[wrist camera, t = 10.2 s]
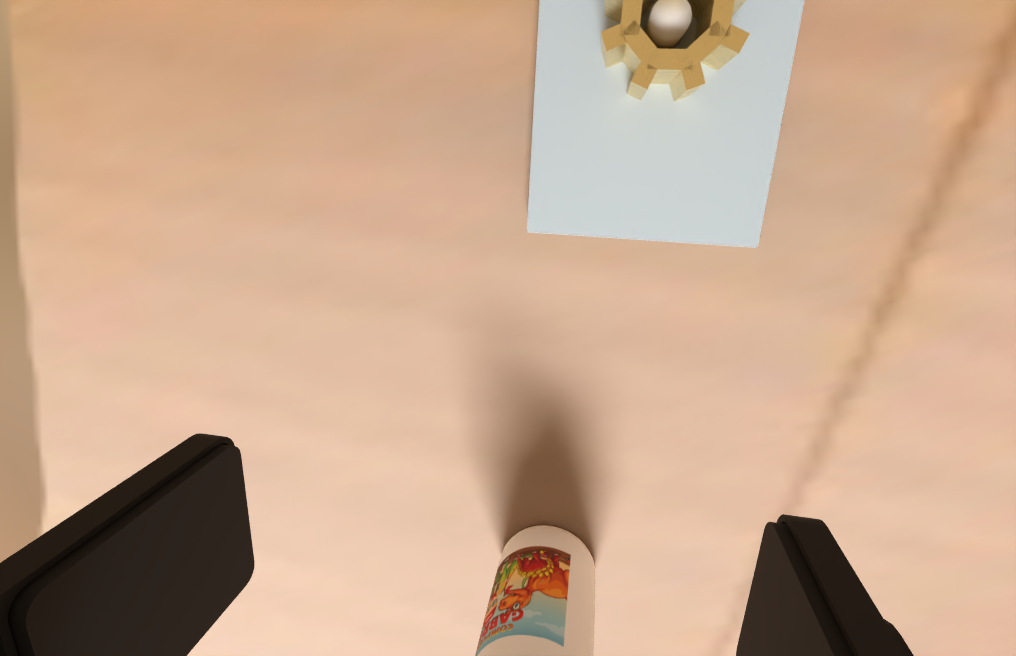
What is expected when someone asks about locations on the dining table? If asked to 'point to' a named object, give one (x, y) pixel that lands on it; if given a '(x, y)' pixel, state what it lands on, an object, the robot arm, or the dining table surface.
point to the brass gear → (675, 67)
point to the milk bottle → (541, 597)
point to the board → (656, 129)
